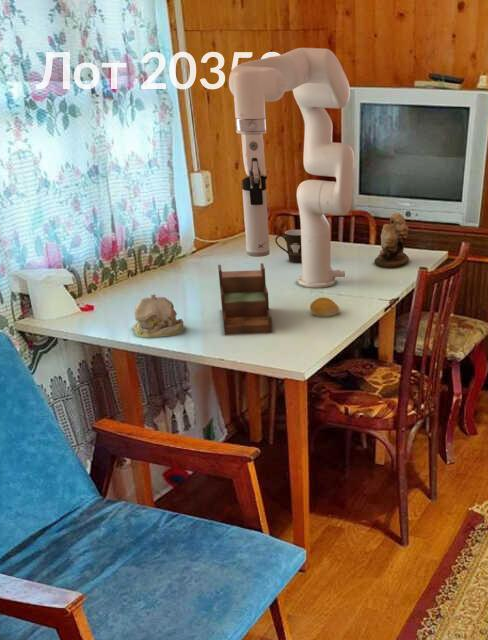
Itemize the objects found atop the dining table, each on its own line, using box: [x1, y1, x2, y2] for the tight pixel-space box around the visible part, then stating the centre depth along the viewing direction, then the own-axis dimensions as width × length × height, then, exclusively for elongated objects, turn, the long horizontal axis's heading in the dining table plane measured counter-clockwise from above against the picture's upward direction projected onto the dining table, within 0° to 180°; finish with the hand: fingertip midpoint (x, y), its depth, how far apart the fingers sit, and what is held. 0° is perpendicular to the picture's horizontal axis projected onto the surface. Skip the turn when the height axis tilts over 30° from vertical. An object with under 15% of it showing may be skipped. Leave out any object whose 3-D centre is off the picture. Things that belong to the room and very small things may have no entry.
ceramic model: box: [132, 294, 185, 339], centre depth 203 cm, size 14×11×10 cm
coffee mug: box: [274, 229, 302, 264], centre depth 267 cm, size 12×9×10 cm
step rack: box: [217, 262, 273, 336], centre depth 210 cm, size 13×21×14 cm, turn 11°
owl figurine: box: [374, 212, 410, 269], centre depth 266 cm, size 18×12×17 cm, turn 163°
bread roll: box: [309, 297, 340, 318], centre depth 220 cm, size 8×9×4 cm
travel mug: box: [241, 174, 271, 258], centre depth 198 cm, size 6×7×20 cm
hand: (255, 201), depth 196 cm, fingers closed on travel mug, 6 cm apart
